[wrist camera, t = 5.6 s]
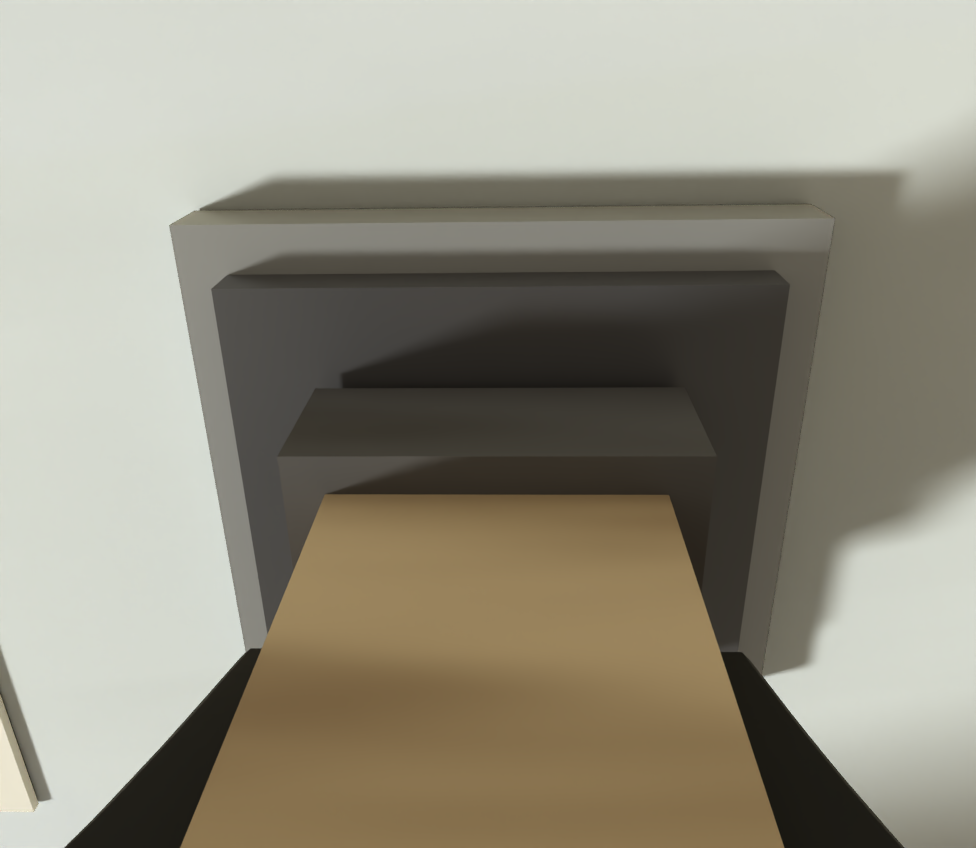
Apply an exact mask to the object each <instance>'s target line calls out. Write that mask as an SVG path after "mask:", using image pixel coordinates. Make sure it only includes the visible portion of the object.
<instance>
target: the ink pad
mask: <svg viewBox="0 0 976 848" xmlns="http://www.w3.org/2000/svg"><path fill="white" fill-rule="evenodd" d="M834 221H835V218H833V217H832V216H830V215H828V214H827V213H825V212H823V211H822V210H820V209H819V208H817V207H815V206H814V205H812V204H763V205H671V206H579V207H486V208H394V209H301V210H209V211H193V212H191V213H190V214H188V215H186V216H184V217H183V218H181V219H179V220H177V221H176V222H174V223H172V224H171V225H169V226H170V232H171V238H172V243H173V249H174V254H175V260H176V265H177V271H178V277H179V282H180V288H181V293H182V299H183V304H184V310H185V316H186V321H187V327H188V332H189V338H190V344H191V349H192V355H193V360H194V366H195V371H196V377H197V383H198V388H199V394H200V399H201V405H202V410H203V416H204V422H205V427H206V433H207V438H208V444H209V450H210V455H211V461H212V466H213V472H214V477H215V483H216V489H217V494H218V500H219V505H220V511H221V516H222V522H223V528H224V533H225V539H226V544H227V550H228V556H229V561H230V567H231V572H232V578H233V583H234V589H235V595H236V600H237V606H238V611H239V617H240V622H241V628H242V634H243V639H244V645H245V650H246V652H247V651H248V650H249V649H250V648H262V647H263V644H264V642H265V639H266V637H267V634H268V632H269V630H270V627H271V625H272V622H273V620H274V617H275V615H276V613H277V610H278V608H279V605H280V603H281V600H282V598H283V595H284V593H285V591H286V588H287V586H288V583H289V581H290V578H291V576H292V573H293V565H292V558H291V551H290V544H289V537H288V530H287V523H286V515H285V508H284V501H283V494H282V487H281V480H280V473H279V466H278V458H277V456H278V454H279V452H280V451H281V449H282V447H283V445H284V443H285V442H286V440H287V438H288V436H289V435H290V433H291V431H292V429H293V427H294V426H295V424H296V422H297V420H298V418H299V417H300V415H301V413H302V411H303V409H304V408H305V406H306V404H307V402H308V400H309V399H310V397H311V395H312V393H313V391H314V390H315V388H623V387H685V389H686V391H687V393H688V395H689V398H690V400H691V402H692V404H693V406H694V408H695V410H696V413H697V415H698V417H699V419H700V421H701V423H702V425H703V428H704V430H705V432H706V434H707V436H708V438H709V440H710V442H711V445H712V447H713V449H714V451H715V453H716V455H717V461H716V470H715V478H714V487H713V496H712V505H711V514H710V522H709V531H708V540H707V549H706V557H705V566H704V575H703V584H702V592H701V594H702V597H703V601H704V604H705V607H706V610H707V613H708V616H709V619H710V622H711V625H712V628H713V631H714V634H715V637H716V640H717V643H718V646H719V649H720V652H742V653H743V654H744V655H745V656H746V657H747V658H748V659H749V660H750V661H751V662H752V663H753V664H754V666H755V667H756V668H757V670H758V671H759V672H760V674H761V675H762V669H763V663H764V657H765V651H766V645H767V638H768V632H769V626H770V620H771V613H772V607H773V601H774V595H775V589H776V582H777V576H778V570H779V564H780V557H781V551H782V545H783V539H784V532H785V526H786V520H787V514H788V508H789V501H790V495H791V489H792V483H793V476H794V470H795V464H796V458H797V452H798V445H799V439H800V433H801V427H802V420H803V414H804V408H805V402H806V395H807V389H808V383H809V377H810V371H811V364H812V358H813V352H814V346H815V339H816V333H817V327H818V321H819V315H820V308H821V302H822V296H823V290H824V283H825V277H826V271H827V265H828V258H829V252H830V246H831V240H832V234H833V227H834Z"/></svg>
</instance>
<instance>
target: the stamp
mask: <svg viewBox="0 0 976 848" xmlns="http://www.w3.org/2000/svg"><path fill="white" fill-rule="evenodd" d="M277 458H278V466H279V473H280V480H281V487H282V494H283V501H284V508H285V515H286V523H287V530H288V537H289V544H290V551H291V558H292V565H293V573H292V576H291V578H290V581H289V583H288V586H287V588H286V591H285V593H284V595H283V598H282V600H281V603H280V605H279V608H278V610H277V613H276V615H275V617H274V620H273V622H272V625H271V627H270V630H269V632H268V634H267V637H266V639H265V642H264V644H263V647H262V649H261V652H260V654H259V656H258V659H257V661H256V664H255V666H254V669H253V671H252V674H251V676H250V678H249V681H248V683H247V686H246V688H245V691H244V693H243V696H242V698H241V700H240V703H239V705H238V708H237V710H236V713H235V715H234V718H233V720H232V722H231V725H230V727H229V730H228V732H227V735H226V737H225V740H224V742H223V744H222V747H221V749H220V752H219V754H218V757H217V759H216V761H215V764H214V766H213V769H212V771H211V774H210V776H209V779H208V781H207V783H206V786H205V788H204V791H203V793H202V796H201V798H200V801H199V803H198V805H197V808H196V810H195V813H194V815H193V818H192V820H191V823H190V825H189V827H188V830H187V832H186V835H185V837H184V840H183V842H182V845H181V847H180V848H784V845H783V842H782V839H781V836H780V833H779V830H778V827H777V824H776V821H775V818H774V815H773V812H772V809H771V805H770V802H769V799H768V796H767V793H766V790H765V787H764V784H763V781H762V778H761V775H760V772H759V769H758V766H757V763H756V760H755V757H754V753H753V750H752V747H751V744H750V741H749V738H748V735H747V732H746V729H745V726H744V723H743V720H742V717H741V714H740V711H739V708H738V705H737V701H736V698H735V695H734V692H733V689H732V686H731V683H730V680H729V677H728V674H727V671H726V668H725V665H724V662H723V659H722V656H721V653H720V649H719V646H718V643H717V640H716V637H715V634H714V631H713V628H712V625H711V622H710V619H709V616H708V613H707V610H706V607H705V604H704V601H703V597H702V594H701V592H702V584H703V575H704V566H705V557H706V549H707V540H708V531H709V522H710V514H711V505H712V496H713V487H714V478H715V470H716V461H717V455H716V453H715V451H714V449H713V447H712V445H711V442H710V440H709V438H708V436H707V434H706V432H705V430H704V428H703V425H702V423H701V421H700V419H699V417H698V415H697V413H696V410H695V408H694V406H693V404H692V402H691V400H690V398H689V395H688V393H687V391H686V389H685V387H623V388H315V390H314V391H313V393H312V395H311V397H310V399H309V400H308V402H307V404H306V406H305V408H304V409H303V411H302V413H301V415H300V417H299V418H298V420H297V422H296V424H295V426H294V427H293V429H292V431H291V433H290V435H289V436H288V438H287V440H286V442H285V443H284V445H283V447H282V449H281V451H280V452H279V454H278V456H277Z"/></svg>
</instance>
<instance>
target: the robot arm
mask: <svg viewBox="0 0 976 848" xmlns="http://www.w3.org/2000/svg"><path fill="white" fill-rule="evenodd" d="M261 649H262V648H250V649H249V650H248V651H247V652H246V653H245V654H244V655H243V656H242V657H241V658H240V659H239V660H238V661H237V662H236V663H235V664H234V666H233V667H232V668H231V669H230V670H229V671H228V672H227V673H226V675H225V676H224V677H223V678H222V679H221V680H220V681H219V683H218V684H217V685H216V686H215V687H214V688H213V689H212V691H211V692H210V693H209V694H208V695H207V696H206V697H205V698H204V700H203V701H202V702H201V703H200V704H199V705H198V706H197V708H196V709H195V710H194V711H193V712H192V713H191V714H190V715H189V717H188V718H187V719H186V720H185V721H184V722H183V723H182V724H181V725H180V727H179V728H178V729H177V730H176V731H175V732H174V733H173V734H172V735H171V737H170V738H169V739H168V740H167V741H166V742H165V743H164V744H163V745H162V747H161V748H160V749H159V750H158V751H157V752H156V753H155V754H154V755H153V756H152V757H151V758H150V759H149V761H148V762H147V763H146V764H145V765H144V766H143V767H142V768H141V769H140V770H139V771H138V772H137V773H136V774H135V775H134V777H133V778H132V779H131V780H130V781H129V782H128V783H127V784H126V785H125V786H124V787H123V788H122V789H121V790H120V791H119V793H118V794H117V795H116V796H115V797H114V798H113V799H112V800H111V801H110V802H109V803H108V804H107V805H106V806H105V807H104V808H103V809H102V811H101V812H100V813H99V814H98V815H97V816H96V817H95V818H94V819H93V820H92V821H91V822H90V823H89V824H88V825H87V826H86V827H85V828H84V829H83V830H82V831H81V832H80V833H79V834H78V835H77V836H76V837H75V838H74V839H73V840H72V841H71V842H70V843H69V844H68V845H67V846H66V847H64V848H180V847H181V845H182V842H183V840H184V837H185V835H186V832H187V830H188V827H189V825H190V823H191V820H192V818H193V815H194V813H195V810H196V808H197V805H198V803H199V801H200V798H201V796H202V793H203V791H204V788H205V786H206V783H207V781H208V779H209V776H210V774H211V771H212V769H213V766H214V764H215V761H216V759H217V757H218V754H219V752H220V749H221V747H222V744H223V742H224V740H225V737H226V735H227V732H228V730H229V727H230V725H231V722H232V720H233V718H234V715H235V713H236V710H237V708H238V705H239V703H240V700H241V698H242V696H243V693H244V691H245V688H246V686H247V683H248V681H249V678H250V676H251V674H252V671H253V669H254V666H255V664H256V661H257V659H258V656H259V654H260V652H261ZM720 653H721V656H722V659H723V662H724V665H725V668H726V671H727V674H728V677H729V680H730V683H731V686H732V689H733V692H734V695H735V698H736V701H737V705H738V708H739V711H740V714H741V717H742V720H743V723H744V726H745V729H746V732H747V735H748V738H749V741H750V744H751V747H752V750H753V753H754V757H755V760H756V763H757V766H758V769H759V772H760V775H761V778H762V781H763V784H764V787H765V790H766V793H767V796H768V799H769V802H770V805H771V809H772V812H773V815H774V818H775V821H776V824H777V827H778V830H779V833H780V836H781V839H782V842H783V845H784V848H904V847H903V846H902V845H901V843H900V842H899V841H898V840H897V839H896V838H895V837H894V836H893V834H892V833H891V832H890V831H889V830H888V829H887V828H886V826H885V825H884V824H883V823H882V822H881V821H880V819H879V818H878V817H877V816H876V815H875V814H874V813H873V811H872V810H871V809H870V808H869V807H868V806H867V804H866V803H865V802H864V801H863V800H862V799H861V798H860V796H859V795H858V794H857V793H856V792H855V791H854V789H853V788H852V787H851V786H850V785H849V784H848V783H847V781H846V780H845V779H844V778H843V777H842V775H841V774H840V773H839V772H838V771H837V769H836V768H835V767H834V766H833V765H832V763H831V762H830V761H829V760H828V759H827V757H826V756H825V755H824V754H823V752H822V751H821V750H820V749H819V747H818V746H817V745H816V744H815V743H814V741H813V740H812V739H811V738H810V736H809V735H808V734H807V733H806V731H805V730H804V729H803V728H802V726H801V725H800V724H799V723H798V721H797V720H796V719H795V718H794V716H793V715H792V714H791V712H790V711H789V710H788V709H787V707H786V706H785V705H784V704H783V702H782V701H781V700H780V698H779V697H778V696H777V694H776V693H775V692H774V691H773V689H772V688H771V687H770V685H769V684H768V683H767V681H766V680H765V679H764V678H763V676H762V675H761V674H760V672H759V671H758V670H757V668H756V667H755V666H754V664H753V663H752V662H751V661H750V660H749V659H748V658H747V657H746V656H745V655H744V654H743V653H742V652H720Z"/></svg>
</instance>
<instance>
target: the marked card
mask: <svg viewBox="0 0 976 848" xmlns="http://www.w3.org/2000/svg"><path fill="white" fill-rule="evenodd" d="M37 806H38V801H37V798H36V795H35V792H34V789H33V787H32V784H31V781H30V778H29V775H28V772H27V769H26V767H25V764H24V761H23V758H22V755H21V752H20V749H19V746H18V744H17V741H16V738H15V735H14V732H13V729H12V726H11V724H10V721H9V718H8V715H7V712H6V709H5V706H4V704H3V701H2V698H1V695H0V812H34V811H35V809H36V808H37Z"/></svg>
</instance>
